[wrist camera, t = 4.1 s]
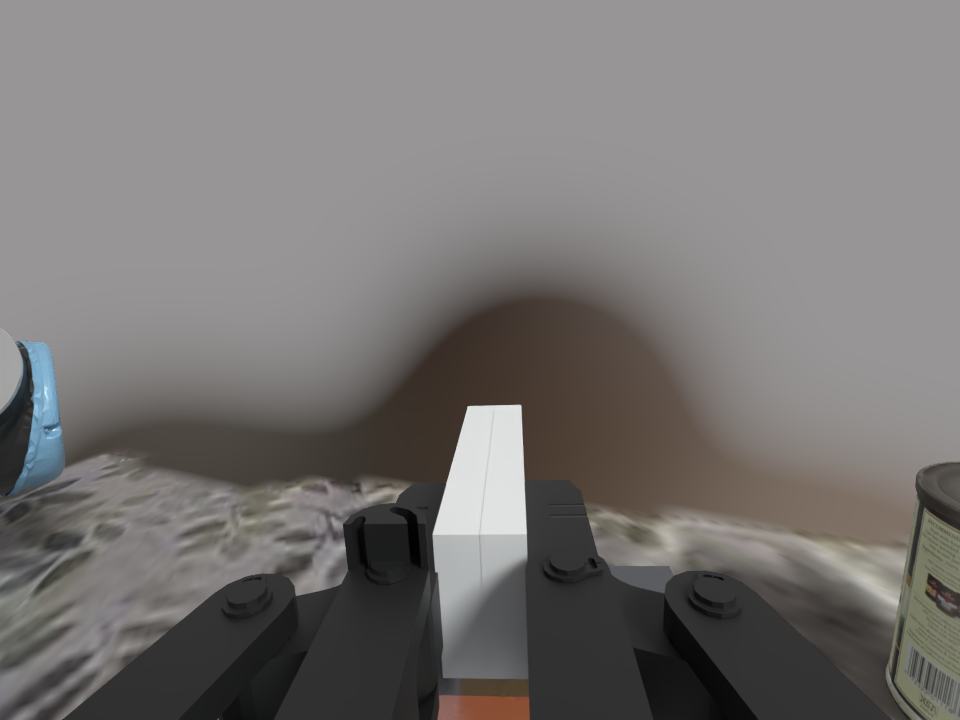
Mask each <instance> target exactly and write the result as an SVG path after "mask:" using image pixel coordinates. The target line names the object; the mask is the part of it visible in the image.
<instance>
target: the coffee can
mask: <svg viewBox="0 0 960 720" xmlns="http://www.w3.org/2000/svg"><path fill="white" fill-rule="evenodd" d="M916 491H917V497H916V503H915V509H914V515H913V521H912V527H911V532H910V539H909V546H908V551H907V557H906V563H905V569H904V575H903V581H902V586H901V594H900V600H899V606H898V612H897V618H896V624H895V631H894V636H893V642H892V648H891V654H890V659H889V661H888V664H887V667H886V680H887V684H888V687H889V689H890V691H891V693H892V695H893V697H894V699H895V700H896V702H897V703H898V705H899V707H900V708H901V709H902V710H903V711H904V712H905V713H906V714H907V716H908V717H909V718H910V719H911V720H960V462H945V463H938V464H933V465H930V466H927V467H925V468H923V469H921V470H920V471H919V472H918V474H917V476H916Z"/></svg>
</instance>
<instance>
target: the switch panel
mask: <svg viewBox="0 0 960 720" xmlns="http://www.w3.org/2000/svg"><path fill="white" fill-rule="evenodd" d="M608 567H609V568H610V571H611V574H612V575H613V576H614V577H616V578H617V579H619V580H621V581H623V582H625V583H627V584H629V585H632V586H636V587H639V588H643V589H647V590H652V591H656V592H661V593H665V586H666V583H667V582H668V581H669V580H670V579H671V578H672V577H673V574H672V572H671V569H670V567H669V566H608ZM438 691H439V705H440V706H439V712H438V719H437V720H530V712H529V679H476V678H443V670H442V657H441V663H440V669H439V674H438Z"/></svg>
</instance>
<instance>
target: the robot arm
mask: <svg viewBox="0 0 960 720" xmlns="http://www.w3.org/2000/svg"><path fill="white" fill-rule="evenodd" d="M60 423H61V422H60V414H59V404H58V395H57V388H56V380H55V372H54V364H53V357H52V352H51V349H50V347H49V346H48V345H47V344H45V343H42V342H28V341H17V342H14V340H13V339H12V338H11V337H10V336H9V335H8V333H7V332H5V331H4V330H3V329H2V328H0V496H1V495H2V496H12V495H14V494H16V493H17V492H19V491H20V490H24V489H28V488H32V487H35V486H39V485H43V484H46V483H49V482H51V481H53V480H55V479H56V478H57V477H58V476H59V475H60V474H61V473H62V471H63V469H64V467H65V456H64V447H63V439H62V432H61V424H60ZM343 529H344V537H345V546H346V554H347V563H348V572H347V574H346V576H345V578H344V580H343V582H342V584H341V585H339V586H337V587H333V588H330V589H326V590H323V591H318V592H314V593H309V594H304V595H300V596H296V594H295V587H294V585H293V584H292V582H291V581H290V579H289V578H287V577H284V576H281V575H279V574H257V575H251V576H247V577H244V578H242V579H240V580H237V581H235V582H232V583H230V584H228V585H226V586H225V587H223V588H222V589H220V590H219V591H217V592H216V593H214V594H213V595H212V596H210V597H209V598H208V599H207V600H205V601H204V602H203V603H202V604H201V605H199V606H198V607H197V608H196V609H195V610H193V611H192V612H191V613H190V614H189V615H187V616H186V617H185V618H184V619H183V620H181V621H180V622H179V623H178V624H177V625H175V626H174V627H173V628H172V629H171V630H169V631H168V632H167V633H166V634H165V635H163V636H162V637H161V638H160V639H159V640H157V641H156V642H155V643H154V644H153V645H151V646H150V647H149V648H148V649H147V650H145V651H144V652H143V653H142V654H141V655H139V656H138V657H137V658H136V659H135V660H133V661H132V662H131V663H130V664H129V665H127V666H126V667H125V668H124V669H123V670H121V671H120V672H119V673H118V674H117V675H115V676H114V677H113V678H112V679H111V680H109V681H108V682H107V683H106V684H105V685H103V686H102V687H101V688H100V689H99V690H97V691H96V692H95V693H94V694H93V695H91V696H90V697H89V698H88V699H87V700H85V701H84V702H83V703H82V704H81V705H79V706H78V707H77V708H76V709H75V710H73V711H72V712H71V713H70V714H69V715H67V716H66V717H65V718H64V719H63V720H217V719H218V718H219V720H437V719H438V712H439V706H440V705H439V691H438V674H439V669H440V663H441V657H442V670H443V678H476V679H529V712H530V720H891V719H890V718H889V717H888V716H887V715H886V714H885V713H884V712H883V711H882V710H881V709H880V708H879V707H878V706H877V705H875V704H874V703H873V702H872V701H871V700H870V699H869V698H868V697H867V696H866V695H865V694H864V693H863V692H862V691H861V690H859V689H858V688H857V687H856V686H855V685H854V684H853V683H852V682H851V681H850V680H849V679H848V678H847V677H846V676H845V675H843V674H842V673H841V672H840V671H839V670H838V669H837V668H836V667H835V666H834V665H833V664H832V663H831V662H830V661H829V660H827V659H826V658H825V657H824V656H823V655H822V654H821V653H820V652H819V651H818V650H817V649H816V648H815V647H814V646H813V645H811V644H810V643H809V642H808V641H807V640H806V639H805V638H804V637H803V636H802V635H801V634H800V633H799V632H798V631H797V630H795V629H794V628H793V627H792V626H791V625H790V624H789V623H788V622H787V621H786V620H785V619H784V618H783V617H782V616H781V615H779V614H778V613H777V612H776V611H775V610H774V609H773V608H772V607H771V606H770V605H769V604H768V603H767V602H766V601H765V600H764V599H762V598H761V597H760V596H759V595H758V594H757V593H756V592H755V591H753V590H752V589H750V588H749V587H748V586H746V585H745V584H743V583H742V582H740V581H738V580H735V579H733V578H730V577H728V576H726V575H723V574H719V573H715V572H714V573H713V572H708V571H687V572H684V573H681V574H678V575H675V576H673V577H672V578H671V579H670V580H669V581H668V582H667V583H666V586H665V593H661V592H656V591H652V590H647V589H643V588H639V587H636V586H632V585H629V584H627V583H625V582H623V581H621V580H619V579H617V578H616V577H614V576H613V575H612V574H611V571H610V568H609V567H608V565H607V564H606V562H605V560H604V559H603V558H601V557H600V556H598V554H597V550H596V546H595V542H594V539H593V535H592V531H591V527H590V524H589V520H588V517H587V513H586V509H585V506H584V501H583V498H582V494H581V491H580V490H579V489H578V488H577V487H576V486H575V485H573V484H572V483H571V482H570V481H569V480H537V481H536V480H535V481H524V461H523V439H522V417H521V405H504V406H503V405H501V406H468V409H467V412H466V416H465V420H464V423H463V427H462V430H461V434H460V437H459V441H458V445H457V448H456V452H455V456H454V459H453V463H452V466H451V470H450V473H449V477H448V481H447V483H444V484H443V483H440V484H439V483H438V484H413V485H411V486H410V487H409V488H408V489H406V490H405V491H404V492H402V493H401V494H400V495H399V497H398V499H397V502H396V503H390V504H381V505H376V506H372V507H369V508H366V509H363V510H361V511H359V512H357V513H355V514H354V515H352V516H350V517H349V519H348V520H347V521H346V522H345V523H344V524H343Z"/></svg>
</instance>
